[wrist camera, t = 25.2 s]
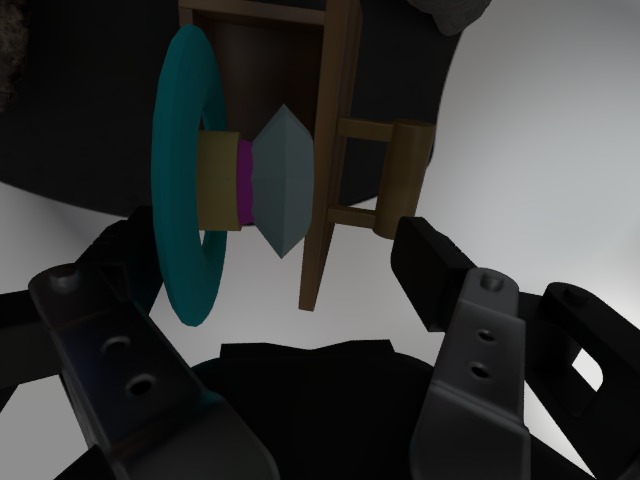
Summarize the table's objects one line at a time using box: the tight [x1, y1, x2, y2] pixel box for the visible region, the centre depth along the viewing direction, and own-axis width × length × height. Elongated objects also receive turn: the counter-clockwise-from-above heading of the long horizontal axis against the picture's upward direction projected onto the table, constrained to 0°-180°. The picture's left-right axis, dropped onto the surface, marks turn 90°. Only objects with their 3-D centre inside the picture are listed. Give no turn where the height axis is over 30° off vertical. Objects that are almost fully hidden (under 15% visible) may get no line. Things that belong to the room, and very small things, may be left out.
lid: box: [299, 0, 436, 311], centre depth 19 cm, size 11×14×5 cm
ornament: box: [151, 24, 314, 327], centre depth 13 cm, size 11×4×10 cm
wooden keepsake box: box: [178, 0, 325, 143], centre depth 29 cm, size 11×14×11 cm
